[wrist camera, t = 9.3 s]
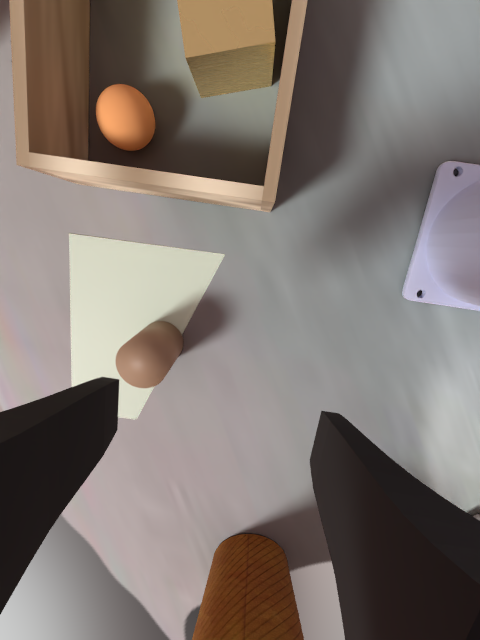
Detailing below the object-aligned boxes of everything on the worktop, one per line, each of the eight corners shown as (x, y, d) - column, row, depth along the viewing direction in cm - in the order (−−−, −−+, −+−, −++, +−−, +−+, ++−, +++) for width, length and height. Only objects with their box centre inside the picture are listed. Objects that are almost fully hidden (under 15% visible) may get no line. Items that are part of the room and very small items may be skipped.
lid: (268, 259, 20) (272, 265, 16) (242, 430, 23) (239, 474, 19) (74, 233, 20) (23, 231, 16) (76, 406, 24) (34, 444, 19)
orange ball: (164, 103, 17) (145, 75, 15) (160, 160, 18) (141, 145, 15) (112, 96, 17) (84, 67, 15) (111, 153, 18) (83, 136, 15)
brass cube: (263, -1, 16) (266, -77, 12) (271, 86, 17) (275, 41, 13) (190, 14, 16) (169, -56, 13) (201, 98, 17) (185, 57, 14)
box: (309, -34, 16) (333, -157, 11) (270, 212, 19) (274, 202, 14) (79, -65, 16) (0, -200, 11) (78, 184, 19) (16, 164, 14)
